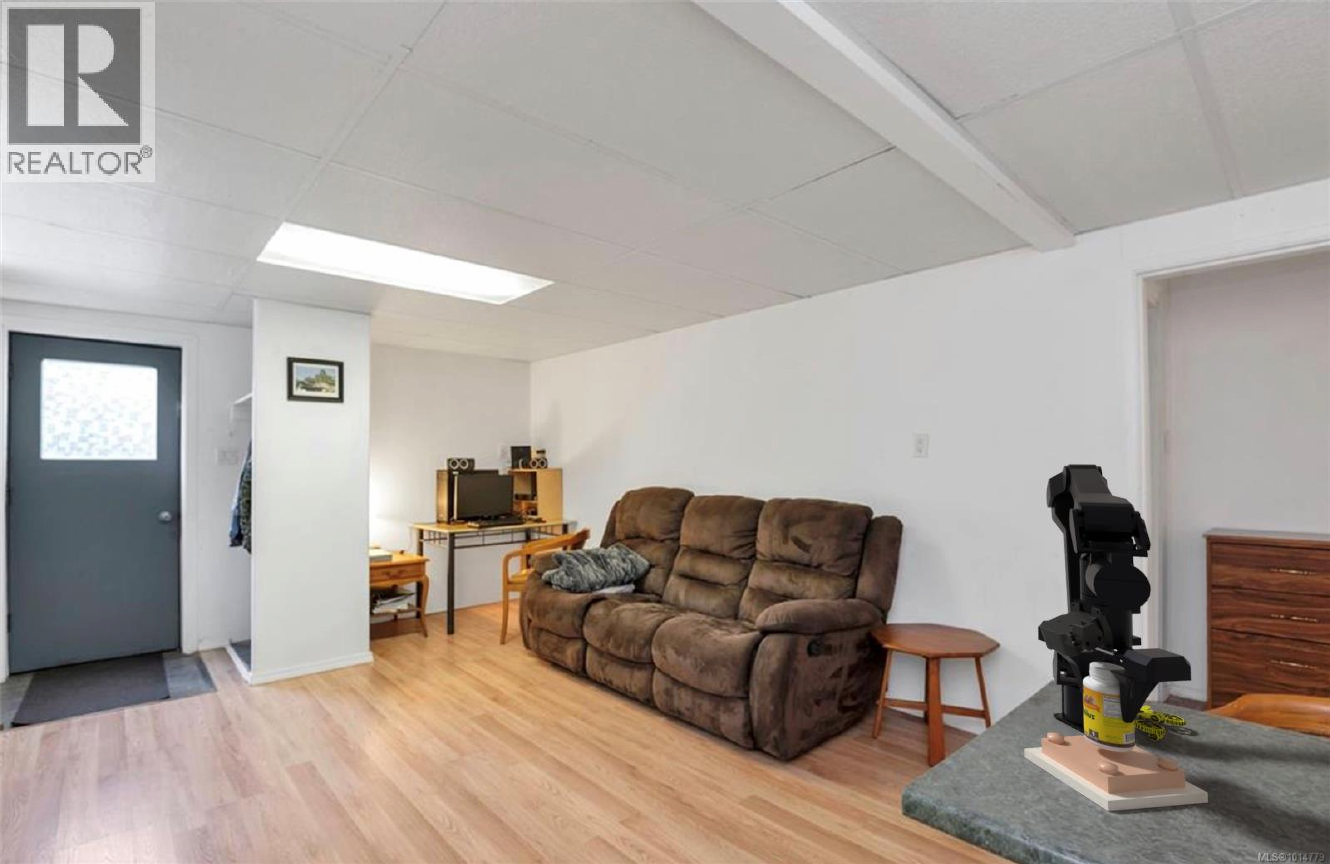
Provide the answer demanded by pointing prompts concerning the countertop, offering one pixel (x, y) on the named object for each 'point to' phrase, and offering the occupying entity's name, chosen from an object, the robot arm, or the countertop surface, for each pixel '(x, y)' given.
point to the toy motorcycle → (1156, 722)
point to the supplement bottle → (1105, 710)
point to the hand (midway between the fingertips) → (1108, 713)
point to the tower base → (1118, 798)
